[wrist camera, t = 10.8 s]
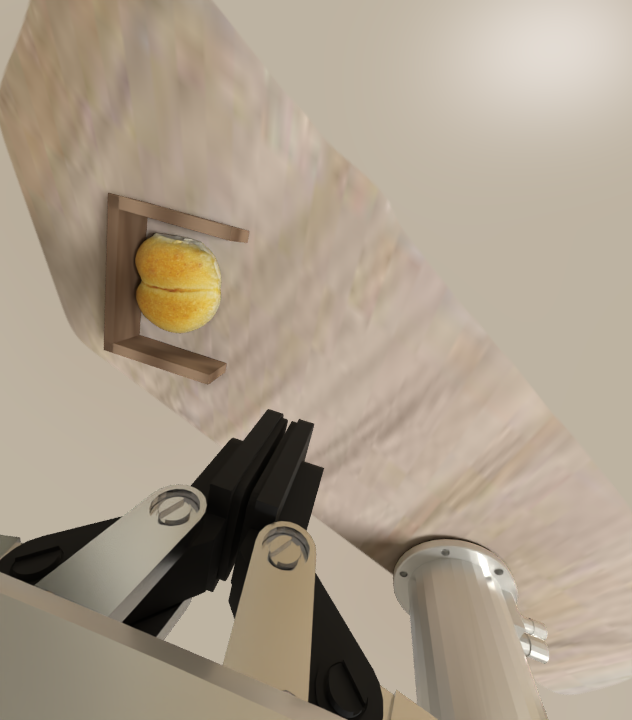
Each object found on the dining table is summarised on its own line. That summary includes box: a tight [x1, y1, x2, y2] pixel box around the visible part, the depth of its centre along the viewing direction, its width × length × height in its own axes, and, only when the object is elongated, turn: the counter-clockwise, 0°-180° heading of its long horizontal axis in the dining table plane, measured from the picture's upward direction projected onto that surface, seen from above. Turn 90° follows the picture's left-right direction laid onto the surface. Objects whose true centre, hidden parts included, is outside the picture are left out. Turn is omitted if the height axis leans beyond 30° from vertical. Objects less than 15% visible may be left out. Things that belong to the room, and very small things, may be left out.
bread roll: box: [135, 233, 221, 333], centre depth 29 cm, size 8×9×4 cm
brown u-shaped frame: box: [104, 193, 249, 384], centre depth 30 cm, size 11×14×4 cm
